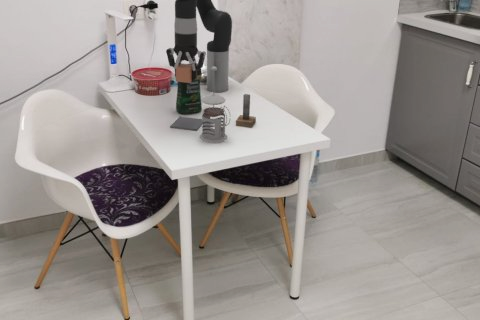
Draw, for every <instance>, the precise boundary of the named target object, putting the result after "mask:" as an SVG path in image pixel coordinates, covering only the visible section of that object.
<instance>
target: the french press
mask: <svg viewBox="0 0 480 320" xmlns="http://www.w3.org/2000/svg"><path fill="white" fill-rule="evenodd" d="M211 70H212V71H216V70H217V68H216V67H212V68H211ZM226 100H227V99H226V98H225V97H224V96H222V95H220V94H217V93H216V94H215V92H214V87H213V92H212V93H211V94H207V95H205V96H203V97H201V102H202V103H204V104H206V105H210V106H212V107H210V106H208V107H206V108H204V109H203V110H202V112H203V113H202V115H201V119H202V125H201V129H202V130H201V132H202V133H201V134H200V135H199V137H198V138H199V139H200V140H201V141H202V142H205V143H210V144H216V143H217V144H218V143H223V142H226V140H228V137H229V136H228V135H227V134H226V127H227V126H228V125H230V122H231V119H229V122H228V115H227V112H226V110H225V108H226V109H227V111H228V114H229V116H231V112H230V109H229V108H228V107H227V106H226V105H223V107H222V106H220V107H217V106H218V105H222V104H224V103H225V102H226ZM215 105H216V106H215ZM215 117H216V118H215Z"/></svg>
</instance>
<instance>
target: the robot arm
mask: <svg viewBox="0 0 480 320" xmlns="http://www.w3.org/2000/svg"><path fill="white" fill-rule="evenodd" d="M197 11H198V15H199V17H200V20H201V23H202V25H203V27H204V29H205V30H206V31H208V32H210V33H212V34H213V39H212V40H210V41H208V42H207V44H206V51H201V50H199V49H198V47H197V46H198V24H197V23H198V22H197ZM232 20H233V19H232V16H231V15H230V13H228V12H226V11H223V10H218V9H217V8H216V7H215V5H214V3H213V1H212V0H175V2H174V22H173V23H174V46H173V47H174V48H173V47H169V48H167V49H166V51H165V53H166V56H167V60H168V65H169V67H173V68H174V78H176V67H177V66H179V65H180V64H181V63H182V62H183V61H187V62H189V63H188V64H190V65H191V67H192V81H195V79H196V78H197V70H199V69H201V70H202V68H203V67H204V62H205V58H206V89H207V90H208V91H209V92H212V93H213V87H214V93H222V92H227V91H228V90H229V66H230V65H229V62H230V61H229V59H230V58H229V57H230V56H229V55H230V54H229V53H230V45H231V43H232V30H233V21H232ZM174 54H175V55H176V56H177V57H176V59H175V56H174ZM196 56H197V57H198V63H197V59H196ZM196 63H197V64H198V65H197V64H196ZM212 67H216V68H217V70H216V71H212V70H211V68H212ZM207 90H206V91H207Z"/></svg>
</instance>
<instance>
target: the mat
mask: <svg viewBox="0 0 480 320" xmlns="http://www.w3.org/2000/svg"><path fill="white" fill-rule="evenodd" d="M202 126H203V125H202V118H195V117H188V116H179V117H177V119H175V120H174V121H173V123H171V124H170V126H169V128H170V129H177V130H185V131H196V132H197V131H198V130H199V129H200V128H202Z"/></svg>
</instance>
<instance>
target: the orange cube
mask: <svg viewBox="0 0 480 320" xmlns="http://www.w3.org/2000/svg"><path fill="white" fill-rule="evenodd" d="M191 81H192V67H191V65H190V63H182V62H181V64H180V65H179V66H177V67H176V77H175V82H177V83H178V82H185V83H190V82H191Z"/></svg>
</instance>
